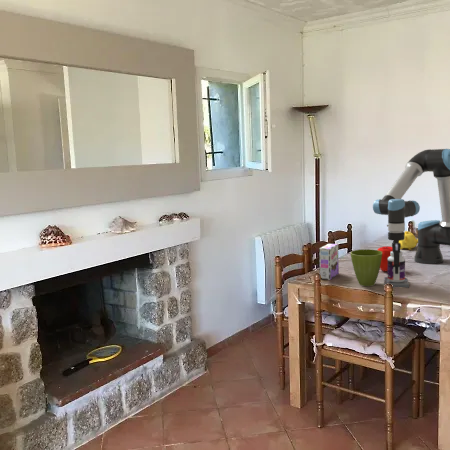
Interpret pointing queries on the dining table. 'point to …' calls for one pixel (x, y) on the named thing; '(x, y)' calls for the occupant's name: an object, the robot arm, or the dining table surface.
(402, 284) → the socket plate
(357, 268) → the flower pot
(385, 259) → the apple
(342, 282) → the dining table surface
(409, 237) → the teapot
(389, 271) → the pill bottle
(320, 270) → the candy box
